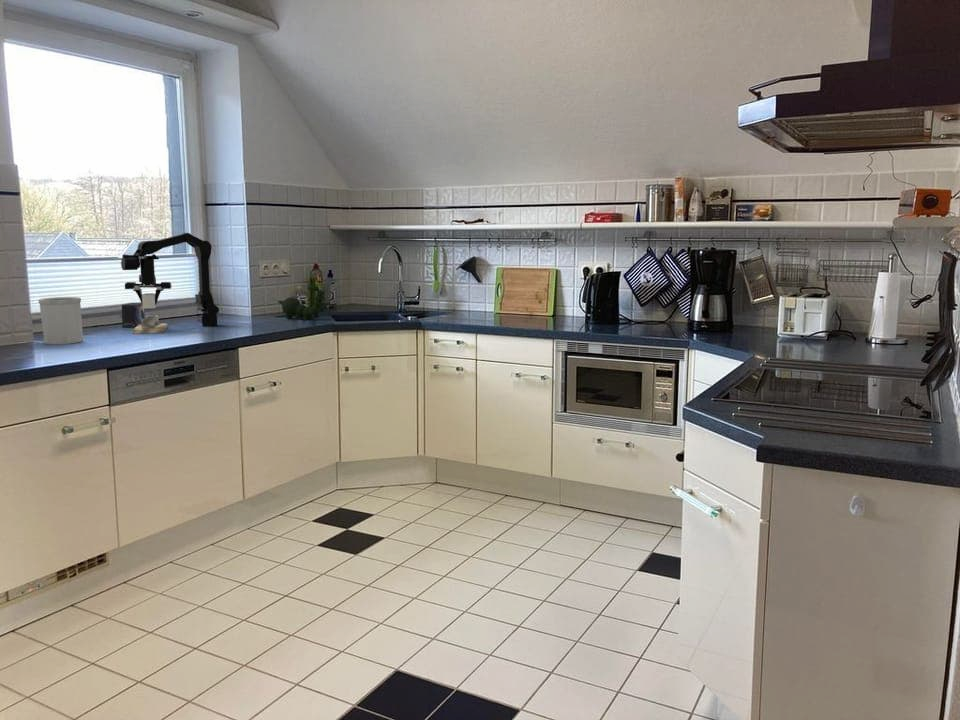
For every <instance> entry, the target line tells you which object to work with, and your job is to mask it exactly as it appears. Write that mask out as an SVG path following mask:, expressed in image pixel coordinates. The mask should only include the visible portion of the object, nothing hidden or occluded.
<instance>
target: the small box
mask: <svg viewBox="0 0 960 720" xmlns="http://www.w3.org/2000/svg"><path fill="white" fill-rule="evenodd" d="M145 315H146V314H145V308H143V305H142V303H141V302H130V303H125V304H121V319H122V321H121V323H122V328H136V327H137V326H138V325H139V324H141V320H142V319H145V317H146V316H145Z"/></svg>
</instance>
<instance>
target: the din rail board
mask: <svg viewBox="0 0 960 720" xmlns="http://www.w3.org/2000/svg"><path fill="white" fill-rule="evenodd" d="M159 318H160V317H159V315H158V314H155V315H152V314H151V315H146V316H145V319H142V320H141V324H139V325H138V326H137V327H133V328H134V329H132V334H133V335H134V334H139V335H140V334H163V333H164V332H165V330H167V328H168V323H160V321H159V320H160V319H159Z"/></svg>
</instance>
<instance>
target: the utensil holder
mask: <svg viewBox="0 0 960 720" xmlns="http://www.w3.org/2000/svg"><path fill="white" fill-rule="evenodd" d="M81 298H82V297H79V296H54V297H53V296H51V297H42V298H39V299H38V304H39V311H40V317H41V327H42V328H41V329H42V334H43V340H44V341H43V342H44V343H45V344H46V345H47V344H48V345H68V344H76V343H80V342H83V341H84V337H83V336H84V335H83V320H82V318H83V317H82V307H81V302H82V299H81Z"/></svg>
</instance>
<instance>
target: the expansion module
mask: <svg viewBox="0 0 960 720" xmlns="http://www.w3.org/2000/svg"><path fill="white" fill-rule="evenodd" d="M142 305H143V308H144V309H156V308H157V305H155V293H152V292H151V293H145V292H144V293H142Z"/></svg>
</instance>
